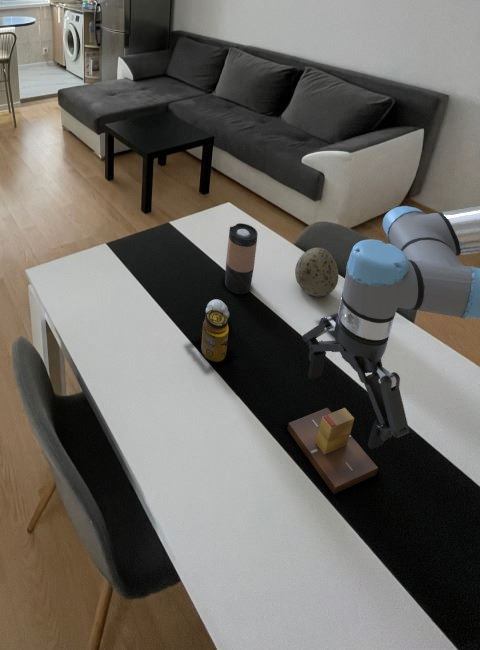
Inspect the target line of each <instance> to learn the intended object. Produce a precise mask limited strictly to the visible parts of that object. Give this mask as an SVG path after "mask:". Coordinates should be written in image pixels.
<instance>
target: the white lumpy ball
mask: <svg viewBox="0 0 480 650" xmlns="http://www.w3.org/2000/svg"><path fill="white" fill-rule="evenodd" d="M210 310H219V311H221V312H223V313H224V314H225V315H226V316H227V319H228V320H229V318H230V312H229V309H228V306H227V305H226V304H225V302H223V301H222V300H221V299H217V298H216V299H215V298H214V299H212V300H210V301H209V302H208V303H207V305H206V308H205V314H206V313H207V312H208V311H210Z"/></svg>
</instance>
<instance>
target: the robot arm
mask: <svg viewBox="0 0 480 650" xmlns="http://www.w3.org/2000/svg"><path fill="white" fill-rule="evenodd" d="M382 228H383V231H384V233H385V235H386V239H387V241H388V243H385V242H384V241H382V240H379V239H364V240H360V241H358V242H356V243H355V244H354V246H353V247H352V249H351V252H350V254H349V258H348V259H347V260H348V261H347V263H346V267H345V268H346V272H345V277H344V283H343V288H342V293H341V297H340V302H339V307H338V312H337V313H338V316H337V319H336V318H335V316H334V314H330V315H327V316H324V317H322V318H320V320H319V323H318V325H316V326H315V327H313V328H312V329H310V330H309V331H307V332H305V333H304V334H303V335H301V338H302V340H303V341H304V342H306V343H307V344H308V349H309V352H308V361H310V362H309V368H308V372H307V378H309V380H313V379H316V378H318V377H321V376H322V375H323V371H324V366H325V361H326V355H327V352H331V353H339V354H340V355H341V358H342V359H343V360H344V361H345V362H346V363H348V364H349V365H350V367H351V368H352V369H353V370H354V371H355V373H357V376H358V378H359V381H360V382H361V383H362V384H364V387H365V389H366V392H367V395H368V397H369V400H370V402H371V405H372V407H373V410H374V412H375V415H376V418H377V419H375V420H374V421H373V424H372V428H371V431H370V433H369V434H370V435H369V437H368V438H369V439H368V442H367V446H368V448H369V449H370V450H373V449H376V448H379V447H381V446H383V445H384V444H385V441H387V440H390V439H392V437H393V438H395V439H398V438H400V437H403V436H405V435H408V434H409V433H410V429H409V424H408V419H407V417H406V416H407V415H406V411H405V407H404V402H403V399H402V395H401V390H400V384H401V383H400V382H401V377H400V375H399V374H398V373H397V372H395V371H393V372H390V371H388V370H387V369H386V368H385V367H383V362H382V358H383V356H384V354H385V352H386V349H387V345H388V343H389V339H390V338H389V337H390V335H391V331H392V328H393V324H394V321H395V316H396V313H397V310H398V309H404V310H413V311H420V312H426V313H431V314H436V315H437V314H438V315H444V316H449V317H457V318H460V319H474V320H476V319H477V320H480V268H479V267H475V266H471V265H466V266H465V265H464V264H463V263H462V262H461V260H460V259H459V258H458V256H463V255H465V256H466V255H472V254H479V253H480V205H477V206H470V207H469V206H468V207H464V208H459V209H458V208H457V209H451V210H443V211H440V212H433V213H432V212H431V213H425V212H424V211H423V210H422V209H420V208H417V207H413V206H408V205H402V206H397V207H394V208H392V209H390V210H389V211H388V212H387V213H386V214H385V215H384V217H383V218H382ZM332 330H333V331H334V336H335V338H334V340H319V341H318V338H319V337H321V336H322V335H324V334H326V333H327V332H328V331H332ZM366 374H368V375H366Z"/></svg>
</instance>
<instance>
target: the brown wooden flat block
mask: <svg viewBox="0 0 480 650" xmlns="http://www.w3.org/2000/svg"><path fill="white" fill-rule="evenodd" d="M331 413H333V411H331V410H330V409H329V408H328V407H325V408H323V409H320V410H318V411H315V412H313V413H309V414H308V415H305V416H303V417H300V418H298V419H294V420H292V421H290V422H288V423H287V424H288V425H287V431H288V433H289V434H290V436H291V437H292V439H293V440H294V441H295V443H296V444H297V445H298V447H299V448H300V449H301V451H302V453H303V454H304V456H306V458H307V459H308V461H309V462H310V464H311V465H312V467H313V468H314V470H316V472H317V473H318V474H319V476H320V477H321V478H322V481H324V483H325V484H326V486H327V487H328V488H329V490H330V491H331V492H332V494H333V495H336V494H337V493H340V492H342V491H344V490H347V489H349V488H350V487H353V486H355V485H357V484H359V483H361V482H364V481H366V480H368V479H370V478H372V477H375V476H376V475H377V473H378V470H379V467H378V465H376V463H375V462H374V461H373V460H372V458H371V457H370V456H369V455H368V454H367V453H366V451H364V449H363V448H362V447H361V446H360V444H359V443H358V442H357V440H356V439H354V437H353V436H352V435H351V434H350V436H349V439H348V443H347V445H346V446H343V447H341V448H339V449H336V450H334V451H332V452H329V453H327V454H325V455H324V453H323V452H322V451H321V449H320V448H319V447H318V445H317V444H316V440H317V436H318V432H319V428H320V424H321V419H322V417H323V416H326V415H328V414H331Z"/></svg>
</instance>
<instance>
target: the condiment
mask: <svg viewBox="0 0 480 650" xmlns="http://www.w3.org/2000/svg"><path fill="white" fill-rule="evenodd" d="M229 332H230V330H229V318H228V319H227V316H226V315H225V314H224V313H223V312H221V311H219V310H210V311H208V312H207V313H206V312H205V316H204V321H202V332H201V333H202V334H201V335H202V336H201V346H200V347H201V349H200V350H201V353H202V355H203V357H204V358H205V359H207V360H208V361H210V362H213V363H219V362H223V361H224V359H225V358H226V357H227V351H228V350H227V349H228V341H229V334H230V333H229Z"/></svg>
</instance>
